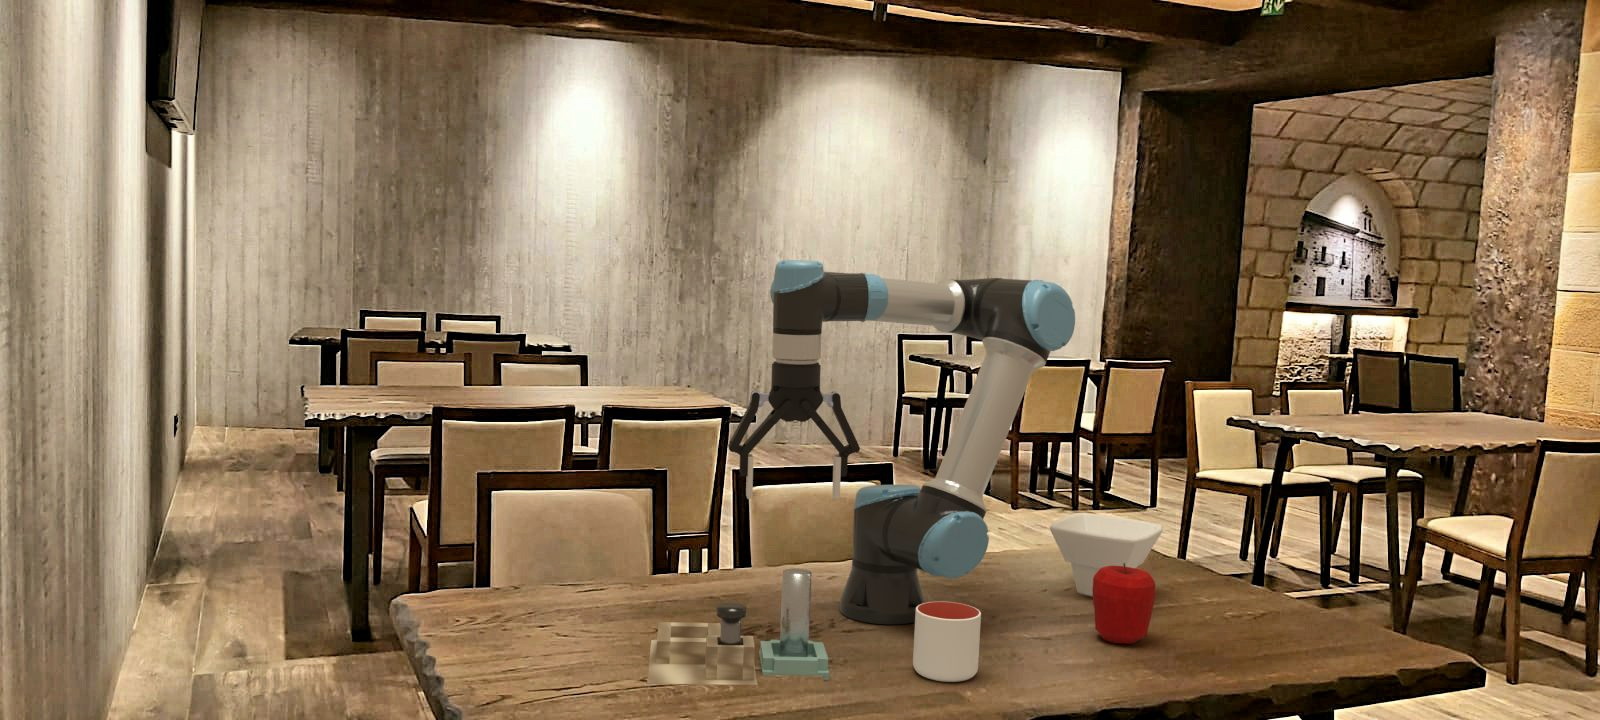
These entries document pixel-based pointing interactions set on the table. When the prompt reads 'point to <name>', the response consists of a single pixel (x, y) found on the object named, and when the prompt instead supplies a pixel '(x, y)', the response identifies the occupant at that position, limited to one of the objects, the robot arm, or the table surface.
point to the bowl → (1102, 544)
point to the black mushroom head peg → (731, 622)
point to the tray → (793, 660)
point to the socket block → (699, 656)
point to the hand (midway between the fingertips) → (792, 497)
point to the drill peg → (795, 613)
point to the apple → (1122, 603)
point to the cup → (946, 641)
